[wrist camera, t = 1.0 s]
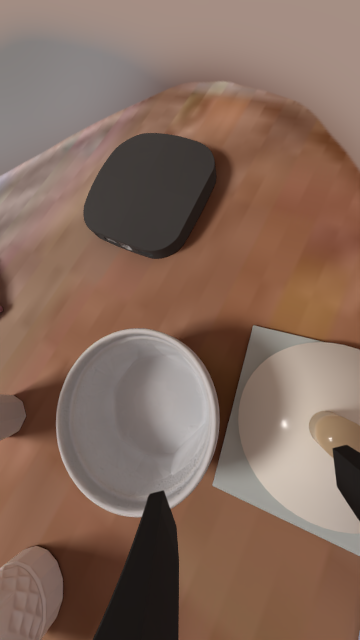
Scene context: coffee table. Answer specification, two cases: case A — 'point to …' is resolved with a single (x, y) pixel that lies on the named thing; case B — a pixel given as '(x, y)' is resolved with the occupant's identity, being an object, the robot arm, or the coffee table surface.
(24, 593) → the white cup
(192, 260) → the coffee table surface
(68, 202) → the coffee table surface
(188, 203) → the media streaming box
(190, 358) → the ramekin
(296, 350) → the lid
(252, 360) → the mat
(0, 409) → the low poly bottle
